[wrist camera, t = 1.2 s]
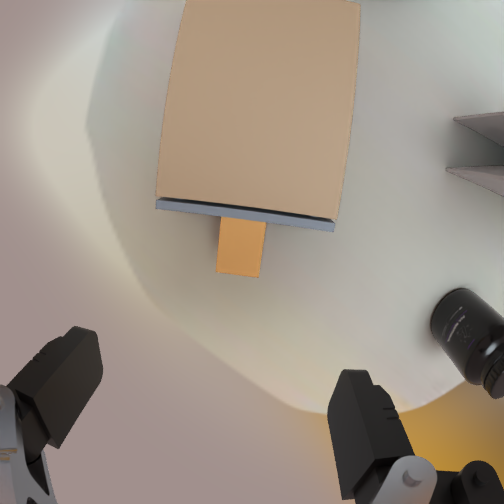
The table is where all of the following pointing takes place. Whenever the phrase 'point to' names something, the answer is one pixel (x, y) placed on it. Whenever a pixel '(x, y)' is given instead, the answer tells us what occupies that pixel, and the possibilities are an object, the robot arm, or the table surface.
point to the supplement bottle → (472, 339)
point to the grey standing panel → (496, 129)
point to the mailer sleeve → (261, 104)
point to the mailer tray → (245, 213)
